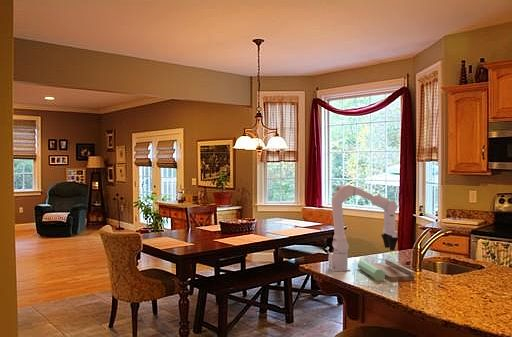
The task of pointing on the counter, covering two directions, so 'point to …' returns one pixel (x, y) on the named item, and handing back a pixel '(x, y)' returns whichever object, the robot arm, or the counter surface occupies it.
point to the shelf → (395, 271)
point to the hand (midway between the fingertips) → (389, 249)
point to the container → (372, 271)
